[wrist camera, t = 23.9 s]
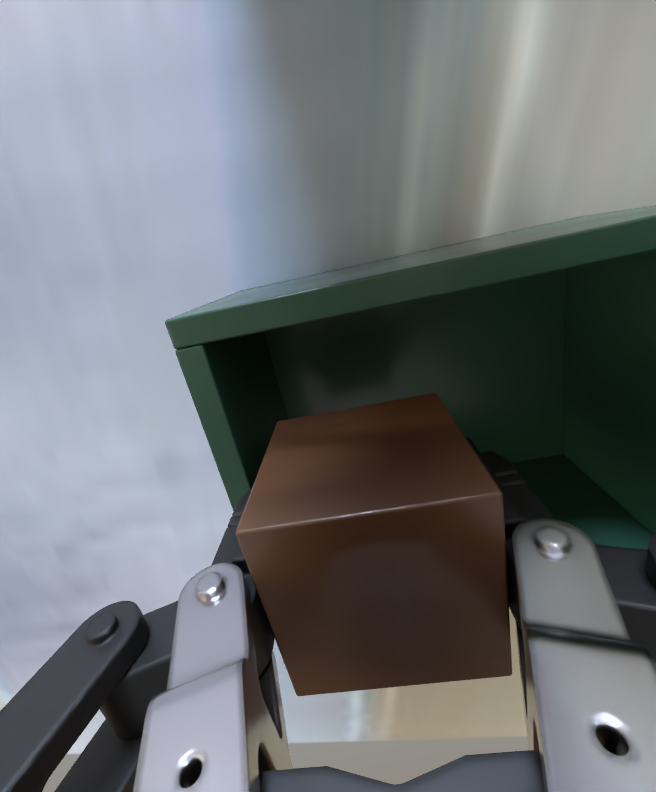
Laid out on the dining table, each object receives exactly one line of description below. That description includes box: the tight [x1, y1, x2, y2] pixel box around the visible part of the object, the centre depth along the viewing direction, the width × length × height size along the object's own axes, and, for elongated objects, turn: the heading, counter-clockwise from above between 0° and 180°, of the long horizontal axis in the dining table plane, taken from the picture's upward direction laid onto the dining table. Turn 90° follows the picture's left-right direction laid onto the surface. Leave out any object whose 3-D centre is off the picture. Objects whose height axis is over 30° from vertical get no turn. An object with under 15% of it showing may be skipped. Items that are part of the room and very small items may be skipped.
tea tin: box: [165, 206, 656, 550], centre depth 14 cm, size 15×12×8 cm
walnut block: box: [236, 393, 512, 696], centre depth 9 cm, size 5×5×5 cm
